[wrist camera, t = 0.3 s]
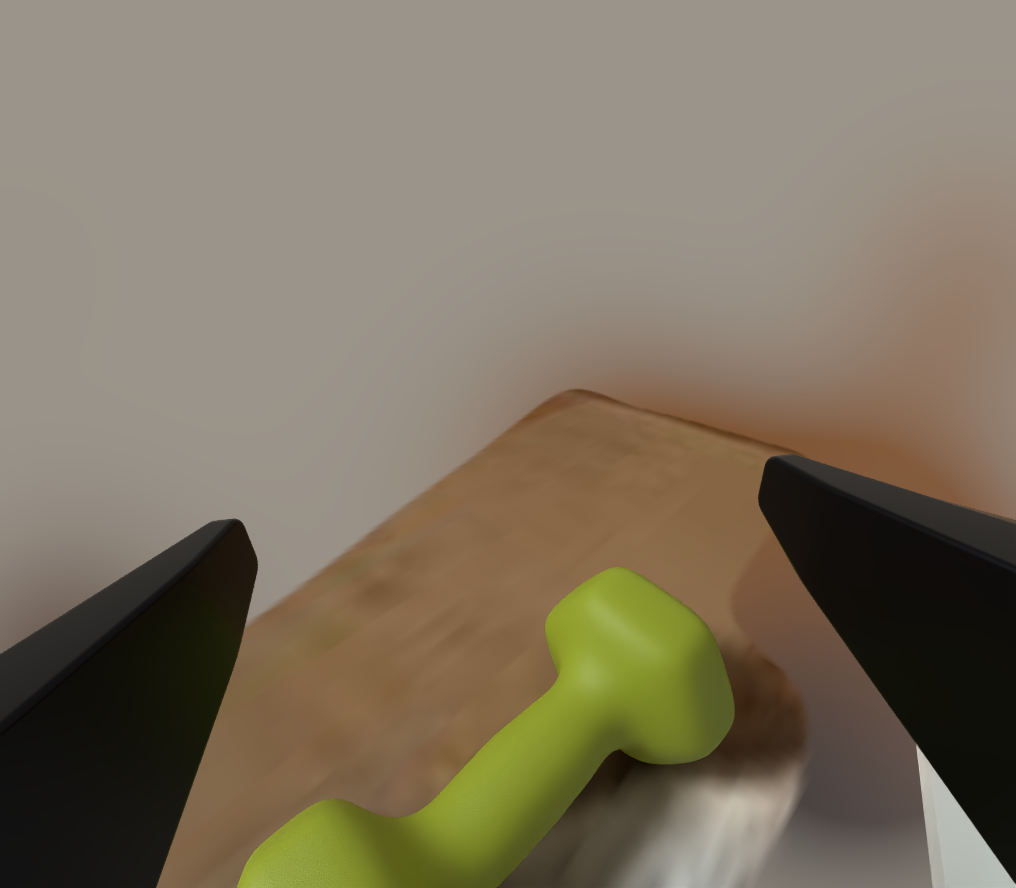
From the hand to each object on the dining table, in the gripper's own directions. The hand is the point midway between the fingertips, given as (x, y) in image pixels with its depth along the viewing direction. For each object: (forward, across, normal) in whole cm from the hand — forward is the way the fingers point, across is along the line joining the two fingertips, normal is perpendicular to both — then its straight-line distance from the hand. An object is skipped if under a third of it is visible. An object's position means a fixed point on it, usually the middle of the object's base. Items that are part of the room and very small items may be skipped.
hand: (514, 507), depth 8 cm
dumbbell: (+2, 0, +16) cm, 17 cm away
